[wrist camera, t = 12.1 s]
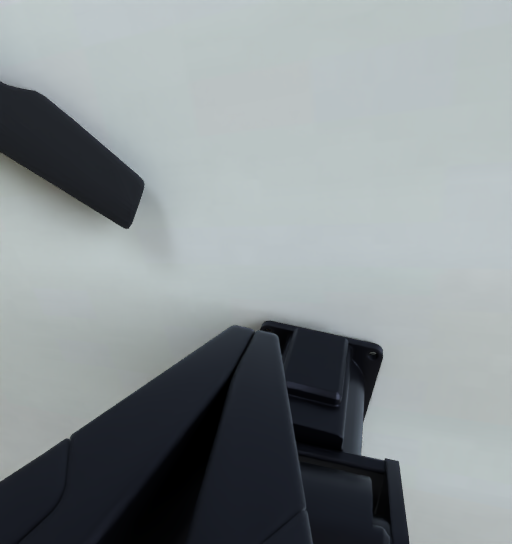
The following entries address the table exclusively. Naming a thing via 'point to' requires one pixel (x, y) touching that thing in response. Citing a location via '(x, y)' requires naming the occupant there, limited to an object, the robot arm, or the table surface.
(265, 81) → the table surface
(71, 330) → the table surface
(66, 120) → the electric trimmer
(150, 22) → the table surface
